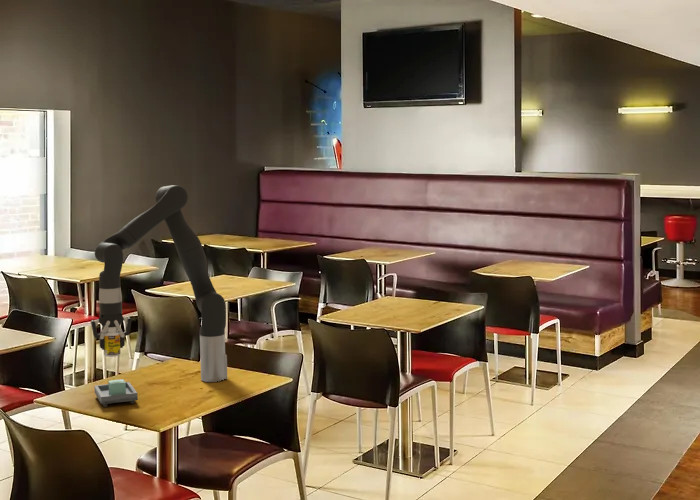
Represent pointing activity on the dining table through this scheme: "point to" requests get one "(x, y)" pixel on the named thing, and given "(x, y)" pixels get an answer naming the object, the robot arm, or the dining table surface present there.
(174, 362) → the dining table surface
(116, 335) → the supplement bottle
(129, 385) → the tray
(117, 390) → the teal block
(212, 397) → the dining table surface
